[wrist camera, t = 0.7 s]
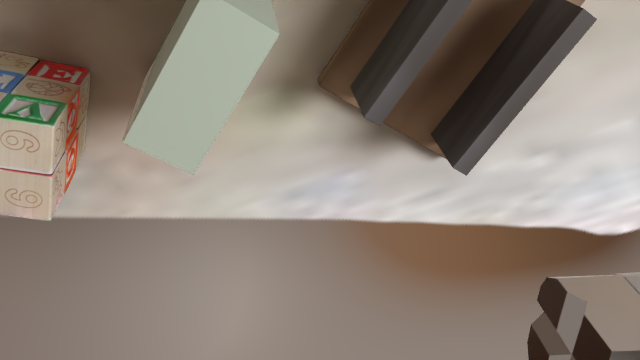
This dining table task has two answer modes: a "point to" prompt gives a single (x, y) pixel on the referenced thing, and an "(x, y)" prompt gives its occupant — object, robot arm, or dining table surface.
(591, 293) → the robot arm
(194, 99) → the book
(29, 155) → the stack of blocks
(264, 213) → the dining table surface
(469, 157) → the book rack
